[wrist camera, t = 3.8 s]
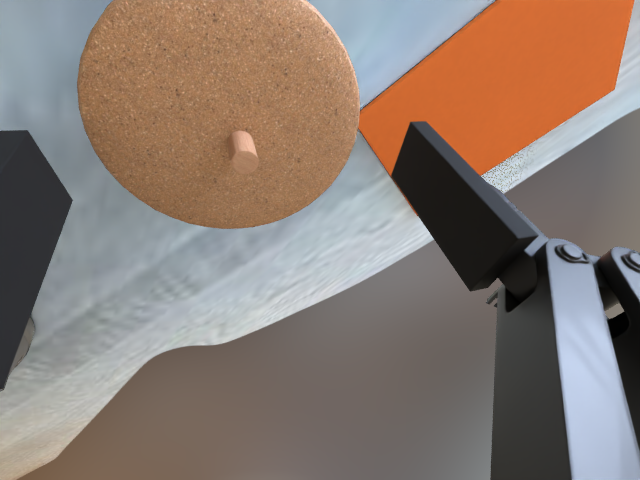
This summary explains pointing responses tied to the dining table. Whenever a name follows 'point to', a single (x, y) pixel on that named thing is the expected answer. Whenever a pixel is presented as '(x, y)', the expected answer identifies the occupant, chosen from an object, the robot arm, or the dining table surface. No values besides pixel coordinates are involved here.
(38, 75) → the dining table surface
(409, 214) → the dining table surface
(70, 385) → the dining table surface
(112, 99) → the trinket box
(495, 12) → the mat
